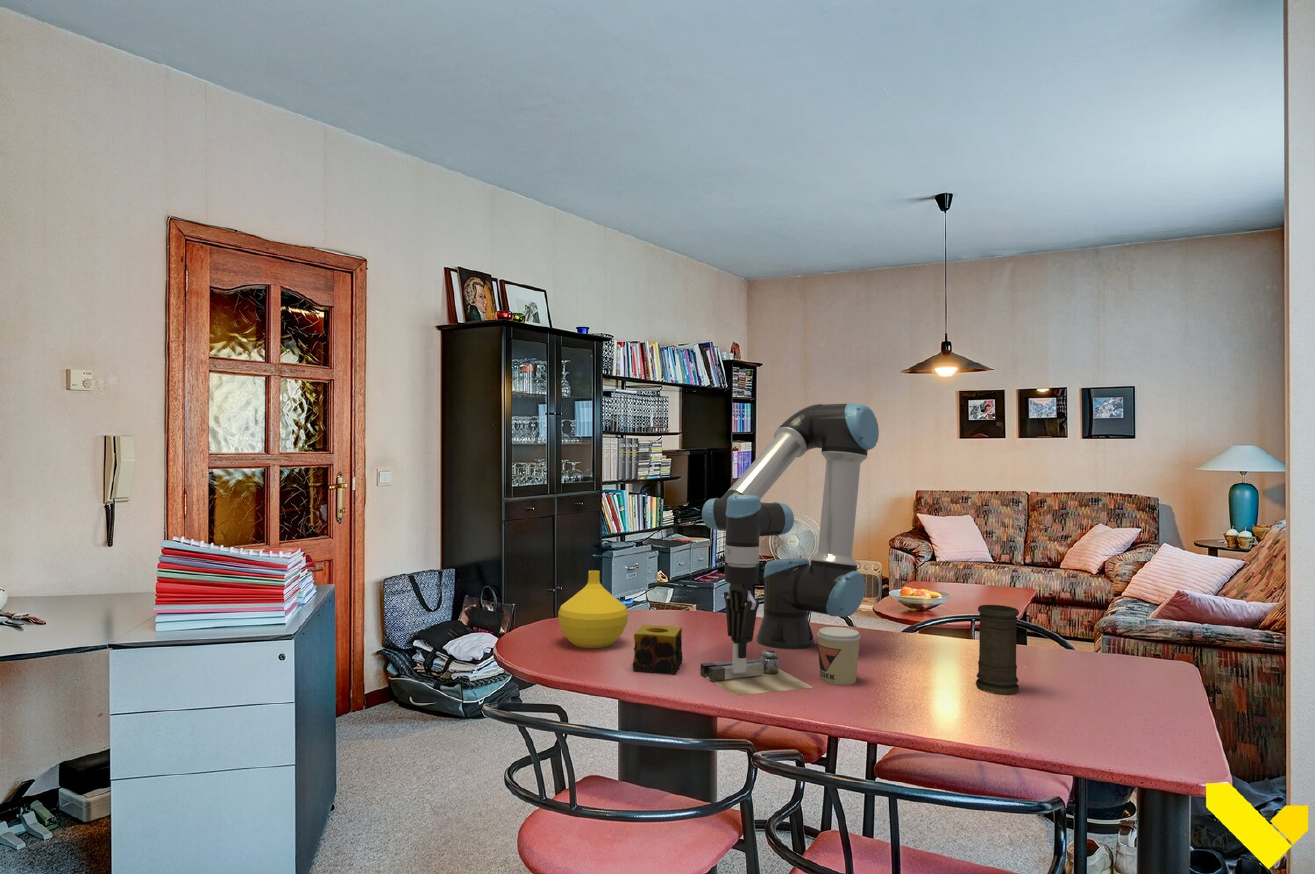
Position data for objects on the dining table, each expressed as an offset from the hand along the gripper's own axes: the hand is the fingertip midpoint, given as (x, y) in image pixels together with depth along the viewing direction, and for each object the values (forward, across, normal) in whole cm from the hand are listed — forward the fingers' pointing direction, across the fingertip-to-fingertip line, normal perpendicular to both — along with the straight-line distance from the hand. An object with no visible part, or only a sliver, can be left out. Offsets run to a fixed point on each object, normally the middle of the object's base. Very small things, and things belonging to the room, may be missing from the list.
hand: (739, 671), depth 180 cm
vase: (+3, -45, -20) cm, 49 cm away
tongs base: (+2, -4, +3) cm, 5 cm away
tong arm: (+2, -3, +2) cm, 4 cm away
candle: (+3, -15, -13) cm, 20 cm away
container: (+3, +19, +55) cm, 58 cm away
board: (+3, +1, +4) cm, 5 cm away
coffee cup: (+3, +6, +22) cm, 23 cm away
